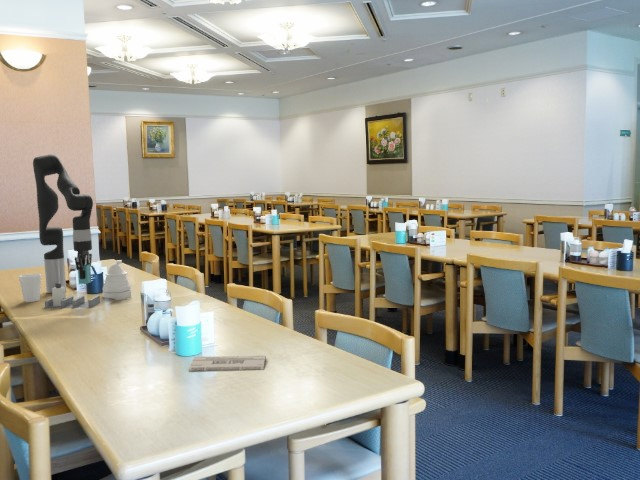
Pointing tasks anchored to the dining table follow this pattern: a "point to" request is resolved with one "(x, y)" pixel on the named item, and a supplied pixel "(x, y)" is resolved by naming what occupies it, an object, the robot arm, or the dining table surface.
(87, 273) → the teal plug
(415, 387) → the dining table surface
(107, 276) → the honey pot
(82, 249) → the robot arm
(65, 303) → the comb board
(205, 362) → the newspaper
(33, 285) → the foam cup
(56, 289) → the white plug
